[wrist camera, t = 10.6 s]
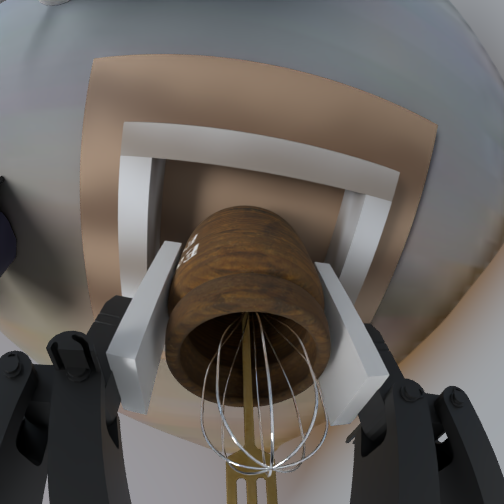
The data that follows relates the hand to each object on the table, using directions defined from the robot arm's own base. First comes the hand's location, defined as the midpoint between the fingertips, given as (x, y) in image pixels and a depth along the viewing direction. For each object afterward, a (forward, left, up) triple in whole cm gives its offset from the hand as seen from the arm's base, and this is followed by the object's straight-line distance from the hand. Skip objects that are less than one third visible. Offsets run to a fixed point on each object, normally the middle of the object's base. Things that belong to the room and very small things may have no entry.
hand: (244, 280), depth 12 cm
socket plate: (0, 0, -4) cm, 4 cm away
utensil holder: (0, 0, -2) cm, 2 cm away
